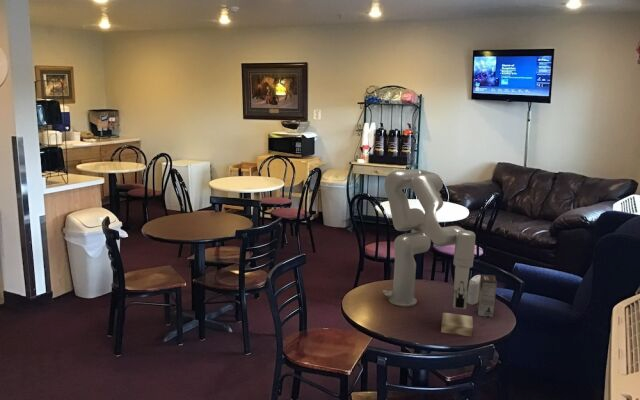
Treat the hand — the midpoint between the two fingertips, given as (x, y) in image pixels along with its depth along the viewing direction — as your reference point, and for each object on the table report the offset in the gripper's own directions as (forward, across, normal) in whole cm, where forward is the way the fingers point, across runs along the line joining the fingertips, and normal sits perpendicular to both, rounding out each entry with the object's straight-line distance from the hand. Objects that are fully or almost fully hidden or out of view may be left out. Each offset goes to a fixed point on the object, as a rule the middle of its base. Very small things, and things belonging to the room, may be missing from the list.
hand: (459, 304), depth 225 cm
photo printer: (+11, -33, +8) cm, 36 cm away
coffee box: (+11, -21, +12) cm, 27 cm away
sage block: (+1, 0, 0) cm, 1 cm away
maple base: (+11, 0, 0) cm, 11 cm away
